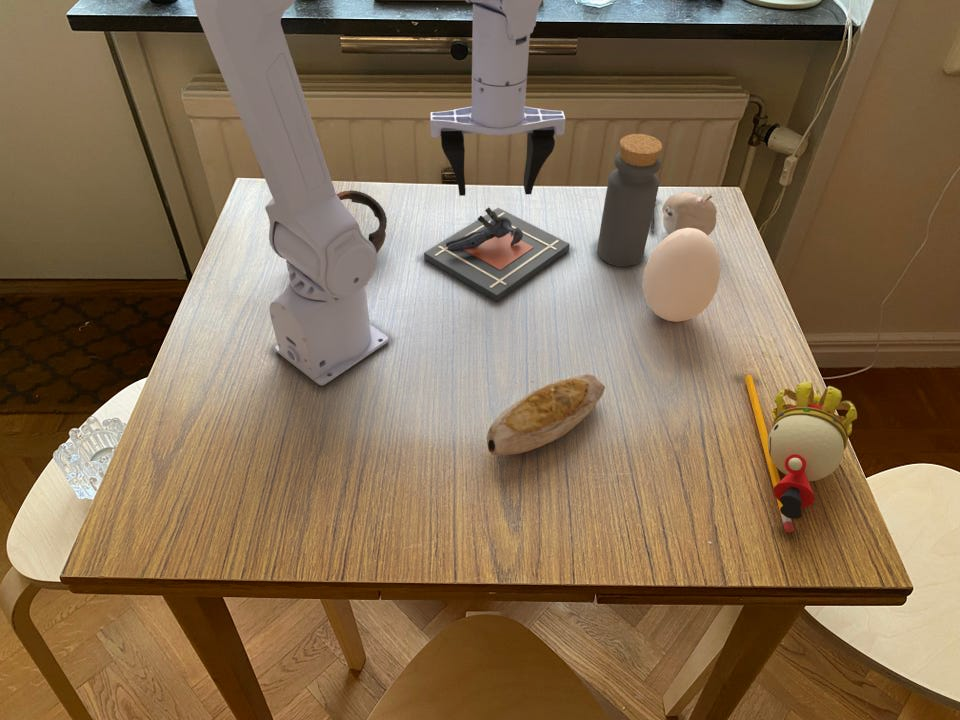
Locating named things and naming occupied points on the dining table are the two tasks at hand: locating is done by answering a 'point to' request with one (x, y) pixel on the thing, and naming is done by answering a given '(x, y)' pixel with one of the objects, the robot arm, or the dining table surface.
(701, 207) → the beige apple
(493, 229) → the figurine
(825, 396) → the toy
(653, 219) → the screw
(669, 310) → the egg
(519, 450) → the tan oval piece
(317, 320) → the robot arm
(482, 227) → the board
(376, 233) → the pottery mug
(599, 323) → the dining table surface
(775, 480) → the pencil
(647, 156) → the bottle
